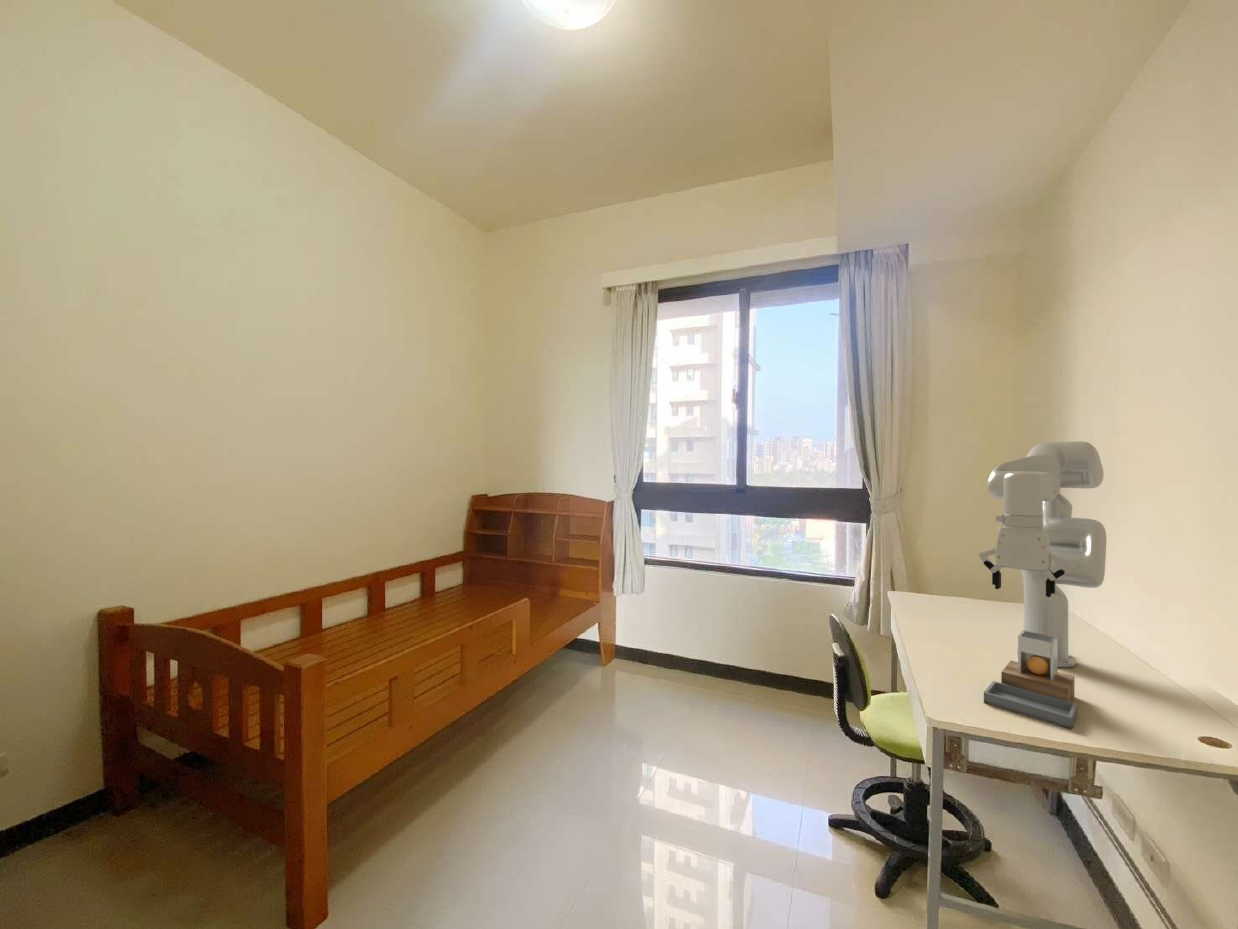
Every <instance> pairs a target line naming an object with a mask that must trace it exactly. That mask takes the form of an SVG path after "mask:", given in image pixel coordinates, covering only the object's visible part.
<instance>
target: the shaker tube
mask: <svg viewBox="0 0 1238 929" xmlns="http://www.w3.org/2000/svg"><path fill="white" fill-rule="evenodd" d="M1017 649H1018V653H1017V662H1018V673H1021V672H1022V671H1023V670H1024V668H1025V667H1027V660H1028V659H1029V658H1031V657H1040V658H1042V659H1043V660H1045V661H1046V662H1047V664H1048V667H1049V669H1048V671H1047V673H1051V681H1052V682H1054V680H1055V678H1056V676H1057V672H1058V667H1057V637H1055V636H1050V635H1045V634H1040V633H1035V632H1030V631H1025V630H1024V629H1023V630H1022V631H1020V633H1019V634H1018V636H1017ZM1027 668H1028V667H1027Z"/></svg>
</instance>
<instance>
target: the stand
mask: <svg viewBox="0 0 1238 929" xmlns="http://www.w3.org/2000/svg"><path fill="white" fill-rule="evenodd" d="M1000 676H1001V678H1000V679H1001V681H1000V683H1003V684H1007V685H1010V686H1014V687H1018V688H1021V689H1025V690H1029V691H1032V692H1036V693H1040V694H1043V695H1047V696H1051V697H1054V698H1058V699H1061V700H1065V701H1069V702H1072V703H1074V698H1075V675H1072V674H1067V673H1063V672H1059V671H1057V676H1056V678H1055V680H1054V682H1052V681H1051V673H1045V674H1042V675H1039V674H1035V673H1033V672H1031V671H1030V670H1029V669H1028V668H1027V667H1025V668H1024V670H1023V671H1022V672H1021V673H1018V661H1015V660H1010V661H1009V662H1008V663H1007V665H1005V667H1004V668H1003V669H1002V670H1001V675H1000Z"/></svg>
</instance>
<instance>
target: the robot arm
mask: <svg viewBox="0 0 1238 929" xmlns="http://www.w3.org/2000/svg"><path fill="white" fill-rule="evenodd" d="M1100 457H1101V456H1100V455H1099V452H1098V450H1097V449H1096V447H1095V446H1094V445H1093V444H1091V443H1089V442H1087V441H1055V442H1054V441H1049V442H1048V441H1047V442H1043V443H1039V444H1038V443H1037V445H1035V446H1033V447H1032V448H1031V449H1030V450H1029V452H1028V453H1027V455H1026V456H1025V457H1019V458H1017V459H1014V460H1009V461H1005V462H1003V463H1002V462H1001V463H1000V464H998V465H996V467H994V469H993V470H992V471H991V473H990V474H989V476H988V479H987V484H986V485H987V486H986V487H987V491H988V493H989V495H990V496H991V497H993V498H994V499H997V500H1003V506H1002V507H1003V512H1002V514H1001V515H995V521H996V522H999V523H1001V524H1002V525H1000V526H999V527H998V530H997V534H996V542H995V548H991V549H989V550H986V551H983V552H980V553H979V554H978V555H979V556H978V557H979V558H980V559H981V561H982V562H983V565H984V566H985V567H986V568H987V569H988V571H989V570H990V572H991V573H992V574H991V575H992V576H991V577H992V578H991V579H992V580H991V581H992V582H991V584H992V585H993V586H994V589H995V590H1000V589H1001V588H1002V572H1001V569H1002V568H1008V569H1016V570H1021V576H1022V583H1023V614H1024V615H1023V630H1025V631H1030V632H1035V633H1040V634H1045V635H1050V636H1055V637H1057V668H1073V667H1075V666H1076V665H1077V661H1076V660H1077V659H1075V657H1073V656H1071V655H1069V600H1068V597H1067V596H1066V594H1065V593H1064V591H1063V590H1062V589H1061V588H1060V587H1059V586H1058V585H1067V586H1073V587H1074V586H1075V587H1080V588H1088V589H1089V588H1090V589H1095V588H1096V589H1097V588H1099V587H1100V586H1102V585H1103V582H1104V580H1105V576H1106V575H1105V573H1106V556H1107V531H1106V528H1105V526H1104V525H1103V523H1102V522H1100V521H1099V520H1096V519H1093V518H1084V517H1083V518H1082V517H1072V515H1073V505H1072V504H1071V502H1070V501H1069V499H1067V498H1066V497H1065V496H1064V495H1063V494H1061V493H1060V492H1061V490H1062V489H1088V490H1089V489H1096V488H1098V487H1099V486H1100V485H1102V483H1103V481H1104V477H1105V476H1104V468H1103V465H1102V460H1101V458H1100ZM992 555H995V557H994V559H995V564H993V562H992V561H991V560H990V559H989V557H990V556H992ZM1057 584H1058V585H1057ZM1016 652H1017V654H1018V648H1017V651H1016Z"/></svg>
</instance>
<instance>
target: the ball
mask: <svg viewBox="0 0 1238 929" xmlns="http://www.w3.org/2000/svg"><path fill="white" fill-rule="evenodd" d="M1027 667H1028V669H1029V670H1030V671H1031V672H1033V673H1035V674H1039V675H1042V674H1045V673H1047V671H1048V669H1049V667H1048V664H1047V662H1046V661H1045V660H1043V659H1042V658H1040V657H1031V658H1029V659H1028V660H1027Z"/></svg>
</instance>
